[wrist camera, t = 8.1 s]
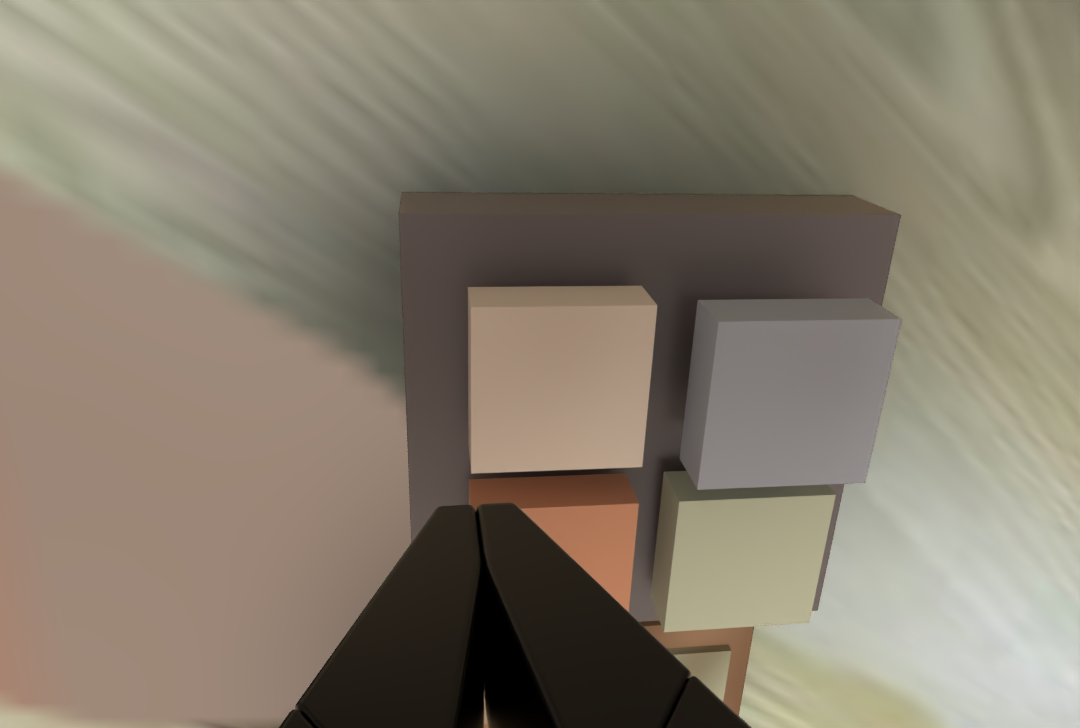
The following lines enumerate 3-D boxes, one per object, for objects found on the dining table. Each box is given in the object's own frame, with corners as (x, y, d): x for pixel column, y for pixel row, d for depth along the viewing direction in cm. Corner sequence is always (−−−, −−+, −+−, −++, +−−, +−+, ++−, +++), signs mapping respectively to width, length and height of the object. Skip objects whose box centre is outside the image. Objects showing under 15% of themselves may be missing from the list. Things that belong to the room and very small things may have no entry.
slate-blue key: (810, 262, 21) (901, 318, 17) (787, 399, 22) (865, 482, 18) (661, 262, 20) (718, 321, 16) (648, 403, 22) (697, 489, 18)
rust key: (602, 419, 23) (638, 503, 19) (594, 535, 25) (626, 634, 21) (464, 423, 22) (471, 511, 18) (464, 541, 24) (471, 645, 20)
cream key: (614, 251, 21) (657, 305, 17) (604, 388, 23) (642, 467, 19) (463, 251, 21) (470, 307, 17) (463, 391, 22) (471, 473, 18)
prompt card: (748, 606, 27) (758, 625, 26) (732, 705, 28) (741, 725, 28) (449, 625, 25) (450, 645, 25) (451, 727, 27) (451, 749, 26)
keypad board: (852, 195, 21) (900, 215, 19) (785, 561, 26) (817, 610, 24) (401, 192, 20) (398, 213, 18) (416, 581, 25) (415, 635, 22)
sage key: (767, 414, 24) (835, 494, 20) (749, 527, 25) (809, 622, 21) (636, 418, 23) (679, 501, 19) (626, 533, 25) (663, 632, 21)
